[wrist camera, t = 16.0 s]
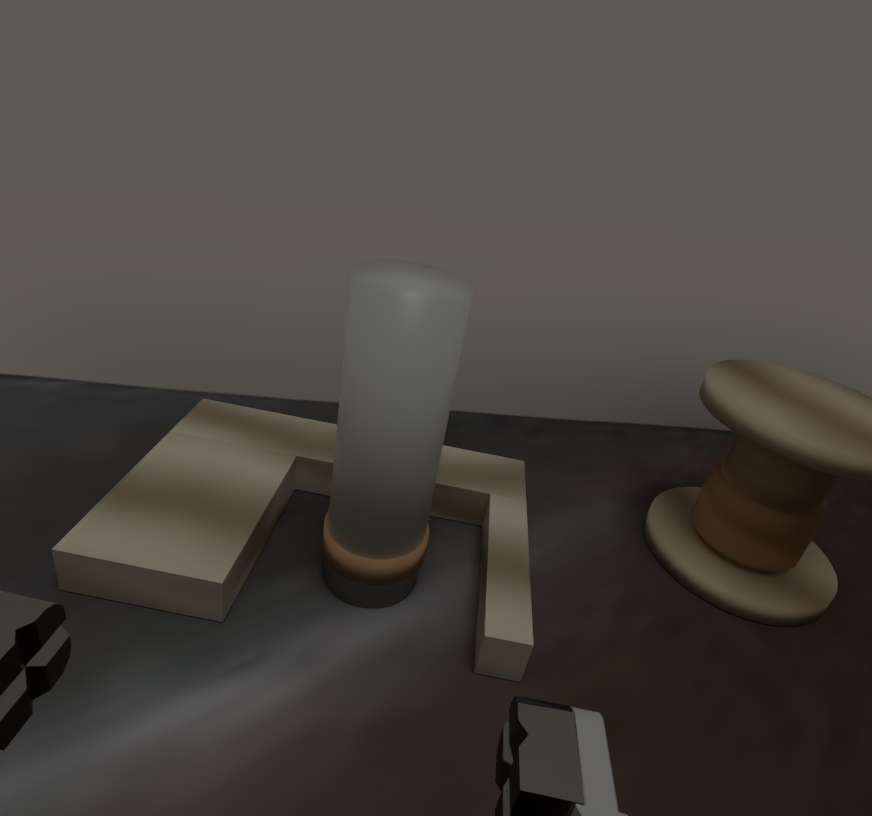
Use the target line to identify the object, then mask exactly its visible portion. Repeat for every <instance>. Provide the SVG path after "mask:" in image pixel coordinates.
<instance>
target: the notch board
mask: <svg viewBox="0 0 872 816" xmlns="http://www.w3.org/2000/svg"><path fill="white" fill-rule="evenodd" d="M336 432H337V425H336V424H331V423H325V422H320V421H315V420H310V419H305V418H300V417H295V416H290V415H284V414H279V413H274V412H269V411H264V410H259V409H254V408H248V407H243V406H238V405H233V404H228V403H223V402H218V401H213V400H207V399H202V400H201V401H200V402H199V403H198V404H197V405H196V406H195V407H194V408H193V409H192V410H191V411H190V412H189V413H188V414H187V415H186V416H185V417H184V418H183V419H182V420H181V421H180V422H179V423H178V424H177V425H176V426H175V427H174V428H173V429H172V430H171V431H170V432H169V433H168V434H167V435H166V436H165V437H164V438H163V439H162V440H161V441H160V442H159V443H158V444H157V445H156V446H155V447H154V448H153V449H152V450H151V451H150V452H149V453H148V454H147V455H146V456H145V457H144V458H143V459H142V460H141V461H140V462H139V463H138V464H137V465H136V466H135V467H134V468H133V469H132V470H131V471H130V472H129V473H128V474H127V475H126V476H125V477H124V478H123V479H122V480H121V481H120V482H119V483H118V484H117V485H116V486H115V487H114V488H113V489H112V490H111V491H110V492H109V493H108V494H107V495H106V496H105V497H104V498H103V499H102V500H101V501H100V502H99V503H98V504H97V505H96V506H95V507H94V508H93V509H92V510H91V511H90V512H89V513H88V514H87V515H86V516H85V517H84V518H83V519H82V520H81V521H80V522H79V523H78V524H77V525H76V526H75V527H74V528H73V529H72V530H71V531H70V532H69V533H68V534H67V535H66V536H65V537H64V538H63V539H62V540H61V541H60V542H59V543H58V544H57V545H55V546H54V547H53V548H52V553H53V558H54V563H55V568H56V574H57V579H58V584H59V589H60V590H64V591H69V592H74V593H79V594H84V595H89V596H94V597H99V598H104V599H109V600H114V601H119V602H124V603H129V604H134V605H139V606H144V607H149V608H154V609H159V610H164V611H169V612H174V613H179V614H184V615H189V616H194V617H199V618H204V619H209V620H214V621H219V622H223V621H224V619H225V618H226V616H227V614H228V612H229V610H230V608H231V606H232V605H233V603H234V601H235V599H236V597H237V595H238V593H239V592H240V590H241V588H242V586H243V584H244V582H245V580H246V579H247V577H248V575H249V573H250V571H251V569H252V567H253V566H254V564H255V562H256V560H257V558H258V556H259V554H260V553H261V551H262V549H263V547H264V545H265V543H266V541H267V540H268V538H269V536H270V534H271V532H272V530H273V528H274V527H275V525H276V523H277V521H278V519H279V517H280V515H281V514H282V512H283V510H284V508H285V506H286V504H287V502H288V501H289V499H290V497H291V495H292V493H293V491H294V489H297V490H302V491H307V492H312V493H317V494H323V495H328V496H330V495H331V485H332V474H333V463H334V453H335V442H336ZM429 516H434V517H439V518H444V519H449V520H455V521H460V522H465V523H470V524H475V525H480V526H482V536H481V554H480V572H479V590H478V608H477V626H476V644H475V662H474V673H477V674H482V675H487V676H492V677H497V678H502V679H507V680H512V681H517V682H521V679H522V676H523V674H524V671H525V668H526V665H527V662H528V659H529V657H530V654H531V651H532V648H533V627H532V607H531V588H530V568H529V548H528V528H527V508H526V488H525V468H524V461H520V460H515V459H510V458H505V457H500V456H495V455H490V454H484V453H479V452H474V451H469V450H464V449H459V448H454V447H449V446H443V447H442V452H441V457H440V462H439V467H438V472H437V477H436V482H435V487H434V492H433V498H432V503H431V508H430V513H429Z"/></svg>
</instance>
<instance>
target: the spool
mask: <svg viewBox="0 0 872 816" xmlns="http://www.w3.org/2000/svg"><path fill="white" fill-rule="evenodd" d="M699 393H700V398H701V400H702V402H703V404H704V405H705V407H706V408H707V410H709V412H710V413H711V414H712V415H713V416H714V417H715V418H717V419H718V420H719V421H720V422H721V423H723V424H724V425H725V426H727V427H728V428H729V429H731V430H732V431H734V432H735V433H737V435H736V437H735V439H734V442H733V444H732V446H731V448H730V450H729V452H728V454H727V455H725V456H722V457H719V458H717V459H716V460H715V461H714V463H713V465H712V467H711V469H710V472H709V474H708V476H707V478H706V480H705V482H704V485H703V487H702V488H701V487H678V488H673V489H669V490H666V491H664V492H662V493H661V494H659V495H658V496H657V497H656V498H655V499H654V500H653V502H652V504H651V506H650V509H649V511H648V513H647V516H646V518H645V522H644V534H645V539H646V541H647V544H648V546H649V548H650V550H651V552H652V553H653V555H654V556H655V558H656V559H657V560H658V562H659V563H660V564H661V565H662V566H663V567H664V569H665V570H666V571H667V572H668V573H669V574H670V575H672V576H673V577H674V578H675V579H676V580H677V581H678V582H679V583H681V584H682V585H683V586H684V587H686V588H687V589H689V590H690V591H691V592H693V593H694V594H696V595H697V596H699V597H700V598H702V599H704V600H705V601H707V602H709V603H711V604H712V605H714V606H716V607H718V608H720V609H722V610H724V611H727V612H729V613H732V614H734V615H736V616H739V617H742V618H745V619H748V620H751V621H755V622H759V623H763V624H768V625H774V626H800V625H805V624H809V623H811V622H813V621H815V620H817V619H818V618H819V617H821V616H822V614H823V613H824V612H825V610H826V609H827V607H828V606H829V604H830V603H831V601H832V600H833V598H834V597H835V595H836V592H837V586H838V582H837V577H836V574H835V571H834V569H833V567H832V565H831V563H830V561H829V560H828V558H827V557H826V556H825V554H824V553H823V552H822V551H821V549H820V548H819V547H818V546H817V545H816V544H815V543H814V542H813V541H812V539H813V537H814V535H815V534H816V532H817V531H818V529H819V527H820V526H821V524H822V522H823V521H824V519H825V517H826V516H827V514H828V511H829V508H828V504H827V502H826V500H825V497H826V495H827V494H828V492H829V490H830V489H831V487H832V485H833V484H834V482H835V480H836V478H837V477H843V478H847V479H851V480H857V481H863V482H871V483H872V398H871V397H869V396H867V395H865V394H863V393H861V392H858V391H856V390H854V389H851V388H849V387H847V386H844V385H842V384H839V383H836V382H834V381H831V380H829V379H826V378H823V377H820V376H817V375H814V374H811V373H807V372H804V371H801V370H797V369H793V368H789V367H785V366H780V365H776V364H771V363H765V362H758V361H750V360H727V361H721V362H718V363H715V364H713V365H712V366H710V368H709V369H708V371H707V373H706V376H705V378H704V381H703V383H702V385H701V388H700V392H699Z"/></svg>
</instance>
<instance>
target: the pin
mask: <svg viewBox="0 0 872 816" xmlns="http://www.w3.org/2000/svg"><path fill="white" fill-rule="evenodd" d="M472 294H473V286H472V285H471V283H470V282H469V281H467V280H466V279H464V278H463V277H461V276H459V275H457V274H455V273H452V272H450V271H447V270H444V269H441V268H438V267H434V266H430V265H425V264H420V263H414V262H408V261H396V260H375V261H368V262H363V263H360V264H358V265H356V266H354V267H353V268H352V273H351V284H350V295H349V305H348V316H347V326H346V337H345V347H344V357H343V368H342V379H341V389H340V400H339V410H338V421H337V432H336V442H335V453H334V463H333V474H332V485H331V495H330V506H329V510H328V512H327V514H326V516H325V520H324V529H323V540H322V551H323V555H324V558H325V559H324V569H323V573H324V579H325V582H326V584H327V586H328V587H329V589H330V590H331V591H332V592H333V593H334V594H335V595H336V596H337V597H339V598H340V599H342V600H343V601H345V602H347V603H350V604H352V605H356V606H359V607H365V608H380V607H386V606H390V605H393V604H395V603H398V602H399V601H401V600H403V599H404V598H405V597H407V596H408V595H409V594H410V592H411V591H412V590H413V588H414V586H415V583H416V579H417V574H418V569H419V568H420V567H421V565H422V563H423V560H424V557H425V552H426V547H427V542H428V537H429V526H428V518H429V513H430V508H431V503H432V498H433V492H434V487H435V482H436V477H437V472H438V467H439V462H440V457H441V452H442V447H443V442H444V437H445V432H446V427H447V422H448V417H449V411H450V406H451V401H452V396H453V391H454V386H455V381H456V376H457V371H458V366H459V361H460V356H461V351H462V346H463V340H464V335H465V330H466V325H467V320H468V315H469V310H470V305H471V299H472Z"/></svg>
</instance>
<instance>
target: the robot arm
mask: <svg viewBox="0 0 872 816" xmlns="http://www.w3.org/2000/svg"><path fill="white" fill-rule="evenodd" d="M65 619H66V614H65V610H64V606H63V605H61V604H57V603H52V602H48V601H43V600H39V599H35V598H30V597H26V596H21V595H17V594H12V593H8V592H4V591H0V750H5V748H6V747H7V746H8V745H9V743H10V742H11V741H12V739H13V738H14V737H15V736H16V734H17V733H18V732H19V730H20V729H21V728H22V727H23V725H24V724H25V723H26V721H27V720H28V719H29V718H30V716H31V715H32V714H33V700H34V699H35V698H37V697H39V696H41V695H43V694H44V693H46V692H48V691H50V690H51V689H52V688H53V686H54V685H55V684H56V682H57V681H58V679H59V678H60V677H61V675H62V674H63V671H64V669H65V667H66V665H67V662H68V660H69V658H70V652H71V640H70V635H69V634H68V633H67V632H66V631H65V630H64V629H63V628H62V627H61V626H60V625H61V624H62V623H63V622H64V620H65ZM495 782H496V783H497V785H498V787H499V789H500V790H501V794H500V797H499V799H498V802H497V805H496V808H495V816H628V815H627V814H623V813H619V811H618V805H617V799H616V792H615V786H614V780H613V774H612V768H611V762H610V756H609V750H608V744H607V738H606V732H605V725H604V720H603V718H602V716H601V714H600V713H598V712H595V711H589V710H584V709H578V708H573V707H570V706H568V705H562V704H557V703H552V702H546V701H541V700H536V699H530V698H525V697H520V696H515V697H514V698H513V699H512V702H511V705H510V707H509V721H508V722H506V723H505V724H503V727H502V731H501V734H500V738H499V743H498V749H497V757H496V777H495Z"/></svg>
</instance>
